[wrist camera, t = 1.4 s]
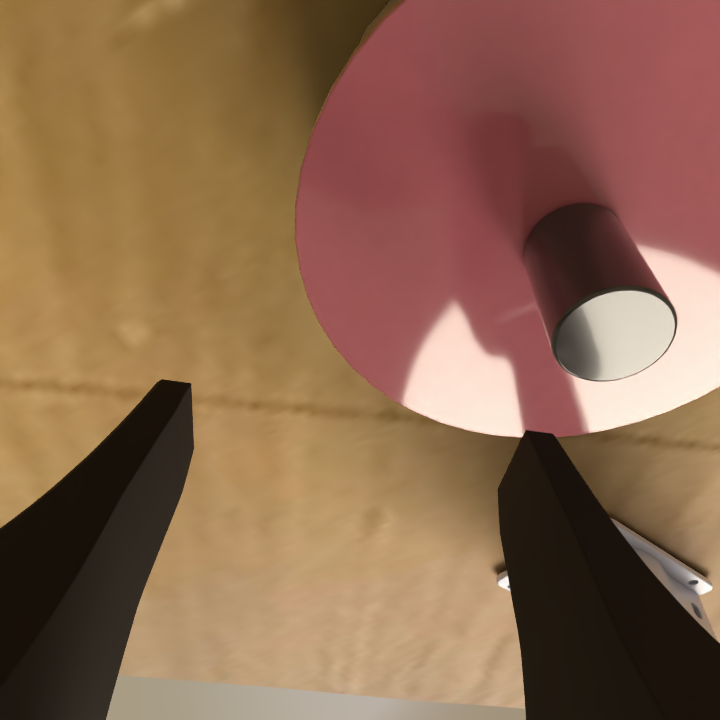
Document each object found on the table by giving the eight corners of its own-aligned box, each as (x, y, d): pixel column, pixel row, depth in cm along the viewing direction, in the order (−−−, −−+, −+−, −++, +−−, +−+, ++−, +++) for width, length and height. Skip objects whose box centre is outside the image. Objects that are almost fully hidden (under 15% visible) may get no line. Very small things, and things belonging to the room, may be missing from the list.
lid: (1020, 83, 13) (1260, 171, 9) (611, 460, 21) (655, 584, 18) (461, -272, 10) (499, -345, 6) (237, 328, 18) (198, 445, 15)
